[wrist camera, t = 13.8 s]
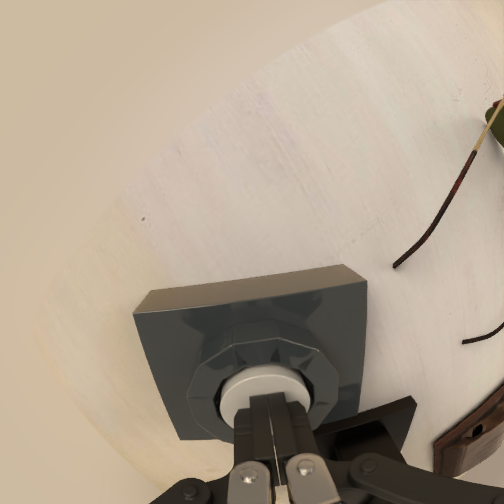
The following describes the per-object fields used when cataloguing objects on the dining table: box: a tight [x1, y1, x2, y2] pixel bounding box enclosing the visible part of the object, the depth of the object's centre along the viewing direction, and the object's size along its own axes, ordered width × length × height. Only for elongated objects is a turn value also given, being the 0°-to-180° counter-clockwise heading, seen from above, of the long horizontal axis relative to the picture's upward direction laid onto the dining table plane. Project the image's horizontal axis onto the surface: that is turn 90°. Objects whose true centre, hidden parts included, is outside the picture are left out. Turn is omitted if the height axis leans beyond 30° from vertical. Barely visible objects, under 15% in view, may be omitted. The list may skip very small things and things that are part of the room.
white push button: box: [220, 363, 310, 435], centre depth 12 cm, size 4×4×2 cm
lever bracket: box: [312, 396, 417, 464], centre depth 13 cm, size 10×8×12 cm
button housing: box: [133, 264, 367, 446], centre depth 14 cm, size 11×9×5 cm
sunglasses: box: [393, 97, 504, 344], centre depth 14 cm, size 14×15×5 cm
